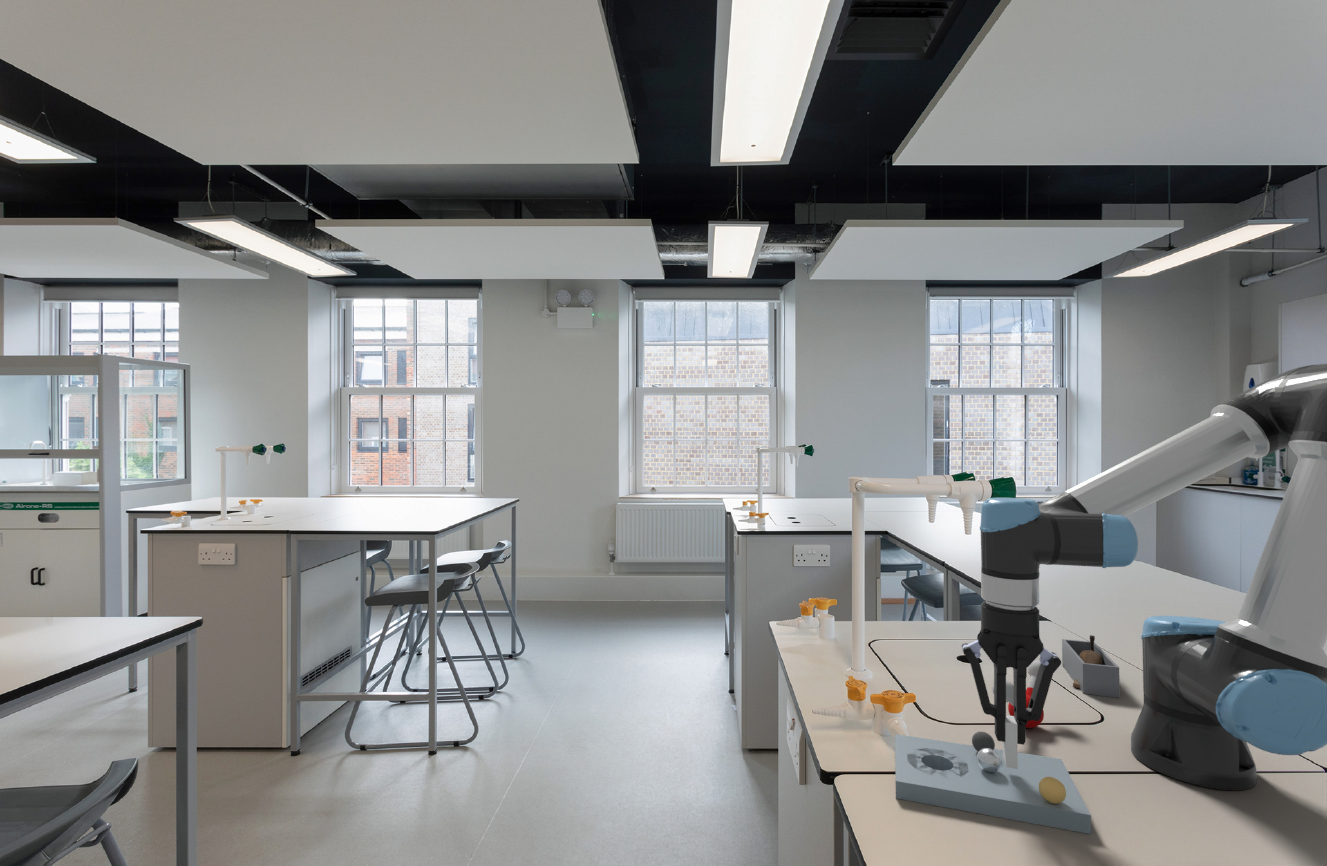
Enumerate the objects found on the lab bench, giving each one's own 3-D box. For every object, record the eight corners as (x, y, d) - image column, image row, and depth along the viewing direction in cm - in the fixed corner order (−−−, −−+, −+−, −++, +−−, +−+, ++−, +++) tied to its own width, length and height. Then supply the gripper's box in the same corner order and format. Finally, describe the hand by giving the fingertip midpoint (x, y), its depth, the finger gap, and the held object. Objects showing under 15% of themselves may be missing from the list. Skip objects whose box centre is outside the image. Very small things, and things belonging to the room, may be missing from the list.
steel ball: (976, 742, 94) (975, 763, 94) (978, 751, 91) (977, 773, 91) (999, 746, 93) (998, 768, 93) (1003, 757, 90) (1002, 778, 90)
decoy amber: (1063, 797, 85) (1062, 774, 85) (1069, 810, 82) (1068, 786, 82) (1036, 793, 86) (1036, 770, 86) (1041, 806, 83) (1041, 782, 83)
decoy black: (993, 749, 98) (993, 729, 98) (996, 759, 95) (996, 738, 95) (970, 746, 99) (970, 726, 99) (973, 756, 96) (973, 735, 96)
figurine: (1080, 666, 138) (1081, 628, 138) (1105, 672, 136) (1105, 633, 135) (1072, 687, 128) (1073, 645, 127) (1099, 693, 125) (1100, 650, 125)
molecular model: (1022, 706, 119) (1022, 654, 119) (1057, 716, 115) (1057, 662, 115) (989, 736, 107) (988, 679, 107) (1027, 749, 103) (1026, 689, 103)
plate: (1061, 775, 95) (1061, 758, 95) (1091, 834, 81) (1090, 815, 81) (895, 748, 103) (895, 733, 103) (895, 798, 89) (895, 780, 89)
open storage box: (1094, 668, 138) (1094, 642, 138) (1119, 697, 123) (1119, 667, 123) (1062, 665, 140) (1062, 639, 140) (1083, 693, 125) (1082, 663, 125)
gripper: (1054, 600, 92) (1054, 759, 92) (958, 593, 97) (958, 743, 96) (1067, 614, 85) (1068, 785, 85) (963, 605, 90) (963, 768, 89)
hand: (1010, 763), depth 91 cm, fingers closed
